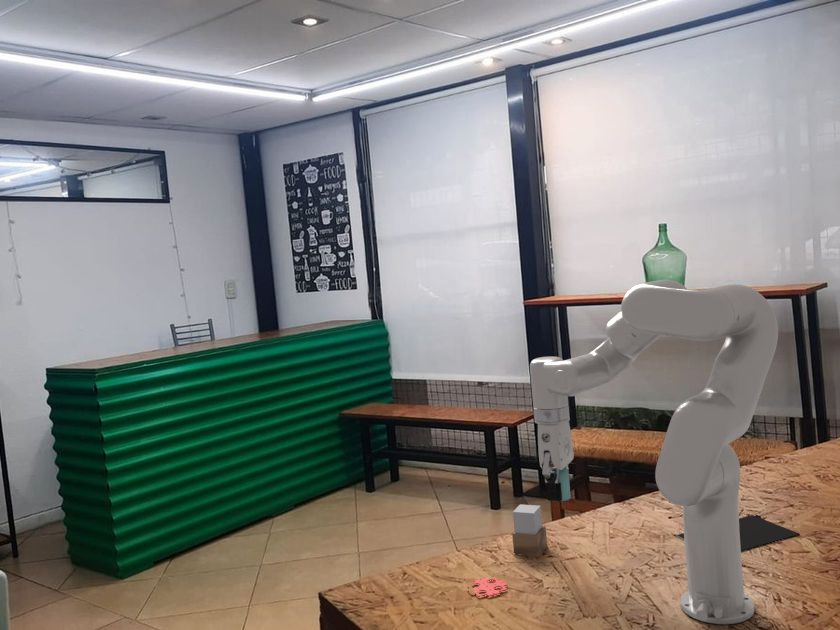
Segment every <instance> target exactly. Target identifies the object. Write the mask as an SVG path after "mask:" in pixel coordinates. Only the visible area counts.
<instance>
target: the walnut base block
mask: <svg viewBox="0 0 840 630" xmlns="http://www.w3.org/2000/svg"><path fill="white" fill-rule="evenodd" d="M511 535H512V544H513V545H512V546H513V554H514V553H515V554H514V555H518V554H521V555H520V556H527V555H528V556H529V557H537V558H539V557H540V556H541V555H542V554H543V552H545V550H546V549H547V547H548V539H547V527H546V525H542V528H541V529H540V530H539V531H538V533H537V534H536V535H532V534H521V533H515V530H514V531H513V532H512V533H511Z"/></svg>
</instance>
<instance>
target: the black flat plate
mask: <svg viewBox="0 0 840 630" xmlns="http://www.w3.org/2000/svg"><path fill="white" fill-rule="evenodd" d="M739 533H740V547H741V553H742V551H743V552H746V551H748V550H749V549H750V550H752V548H753V549H756V548H760V547H764V546H766V544H767V545H771V544H773V543H772V542H774V543H776V542H775V541H777V542H779V541H778V540H781V541H783V540H782V539H784V540H787V538H788V539H791V538H795V537H797V536H801V533H799V532H797V531H794V530H792V529H788V528H787V527H784V526H782V525H779V524H776V523H775V522H774V523H773V522H771V521H769V520H766V519H764V518H762V516H761V515H759V514H758V515H757V514H755V515H754V514H749V513H748V515H747V516H743V517H739ZM673 536H675V538H678V539H680V540H682V539H683V540H682V541H684V542H685V540H684V532H683V533H680V534H679V533H677V534H676V533H674V535H673ZM759 546H760V547H759ZM745 550H746V551H745Z"/></svg>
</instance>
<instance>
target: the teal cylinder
mask: <svg viewBox="0 0 840 630" xmlns="http://www.w3.org/2000/svg"><path fill="white" fill-rule="evenodd" d="M553 468H555V467H554V466H553ZM568 469H569V468H568ZM568 469H567V468H564V469H563V470H559V482H561V491H562V500H561V501H560V502H564V501H565V502H567V501H568V500H570V499H571V497H572V496H571V485H570V484H569V483H570V475H569V473H570V472H569V473H568ZM551 473H553V474H554V476H555V471H551Z"/></svg>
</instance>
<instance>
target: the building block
mask: <svg viewBox="0 0 840 630" xmlns="http://www.w3.org/2000/svg"><path fill="white" fill-rule="evenodd" d="M490 580H491V581H492V580H493V581H495V582H490V583H488V581H490ZM474 581H475V582H474ZM470 583H471V585H472V584H473V583H476V584H479V585H480V586H473V587H474V588H473V589H474V590H475V591H474V592H475V593H476V594H477V596H478V597H480V596H485V595H487V596H488V597H489V596H494V595H497V594H500V592H501V591H506V590H507V591H508V588H505V587H504V586H507V587H508V584H507V583H506V582H505V581H504V580H503V579H500V580H498V579H497V577H495V576H494V577H490V578H487V577H484V578H479V579H475V580H473V582H469V583H468V584H470ZM496 587H501V588H502V589H496V590H495V588H496ZM478 591H486V593H480V594H478ZM472 593H473V592H472ZM488 597H487V598H488Z"/></svg>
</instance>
